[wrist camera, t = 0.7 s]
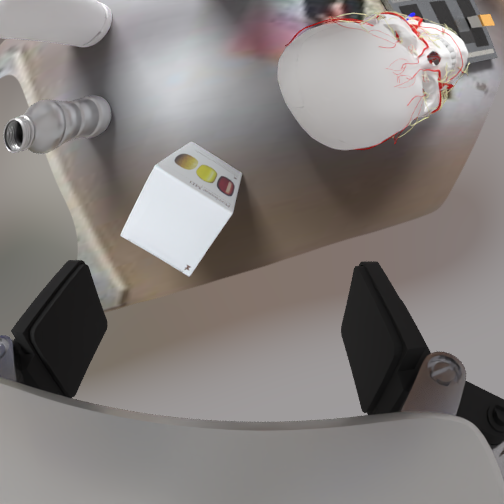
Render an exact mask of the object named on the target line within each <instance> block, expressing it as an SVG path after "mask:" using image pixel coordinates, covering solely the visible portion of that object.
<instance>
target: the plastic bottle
mask: <svg viewBox="0 0 504 504" xmlns="http://www.w3.org/2000/svg"><path fill="white" fill-rule="evenodd" d="M110 120H111V108H110V105H109V103H108V102H107V101H106V100H105V99H104V98H102V97H100V96H96V95H89V96H86V97H83V98H81V99H78V100H74V101H57V100H40V101H38V102H36V103H34V104H33V105H31V106H30V107H29V108H28V109H27V111H26V113H25V114H24V115H21V116H18V117H17V118H13V119H11V120H10V121H9V122H8V123H7V124H6V126H5V129H4V134H3V139H4V144H5V147H6V148H7V150H8V151H10V152H12V153H16V152H19V151H24V150H26V149H28V150H30V151H31V152H33V153H38V154H45V153H48V152H50V151H52V150H54V149H55V148H57V147H59V146H60V145H62V144H64V143H65V142H68V141H70V140H73V139H77V138H93V137H96V136H98V135H99V134H101V133H102V132H104V131H105V130H106V129H107V127H108V125H109V123H110Z"/></svg>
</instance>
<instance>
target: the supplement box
mask: <svg viewBox="0 0 504 504" xmlns="http://www.w3.org/2000/svg"><path fill="white" fill-rule="evenodd" d="M241 177H242V173H241V172H240V171H238V170H236V169H235V168H233V167H232V166H230V165H229V164H227V163H226V162H224V161H223V160H221V159H219V158H218V157H216V156H215V155H213V154H211V153H210V152H208V151H207V150H205V149H203V148H202V147H200V146H199V145H197V144H195V143H194V142H190V143H188V144H187V145H185V146H183V147H182V148H180V149H179V150H177V151H176V152H174V153H172V154H171V155H170V156H168V157H166V158H165V159H163V160H162V161H160V162H159V163H158V164H156V165H155V166H154V168H153V170H152V172H151V174H150V176H149V178H148V180H147V182H146V183H145V185H144V187H143V189H142V191H141V193H140V195H139V197H138V199H137V201H136V203H135V205H134V207H133V209H132V211H131V213H130V216H129V218H128V220H127V222H126V224H125V226H124V228H123V230H122V232H121V237H123V238H125V239H127V240H129V241H130V242H132V243H134V244H135V245H137V246H139V247H141V248H142V249H144V250H146V251H147V252H149V253H151V254H153V255H154V256H156V257H158V258H159V259H161V260H163V261H164V262H166V263H168V264H169V265H171V266H173V267H174V268H176V269H177V270H179V271H181V272H182V273H184V274H185V275H187V276H189V277H190V275H191V274H192V272H193V271H194V269H195V268H196V266H197V265H198V263H199V262H200V261H201V259H202V258H203V256H204V255H205V253H206V252H207V250H208V249H209V247H210V246H211V244H212V243H213V241H214V240H215V238H216V237H217V236H218V234H219V233H220V231H221V230H222V228H223V227H224V225H225V224H226V223H227V221H228V220H229V218H230V217H231V216H232V214H233V211H234V207H235V203H236V198H237V194H238V190H239V186H240V181H241Z"/></svg>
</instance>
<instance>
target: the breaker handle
mask: <svg viewBox="0 0 504 504" xmlns="http://www.w3.org/2000/svg"><path fill="white" fill-rule="evenodd" d="M467 18H468V20H469V23H470V25H471V27H472V28H476V27H485V26H493V25H495V24H494V22H493V20H492V17H491V15H490V14H485V15H476V16H471V17H467Z"/></svg>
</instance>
